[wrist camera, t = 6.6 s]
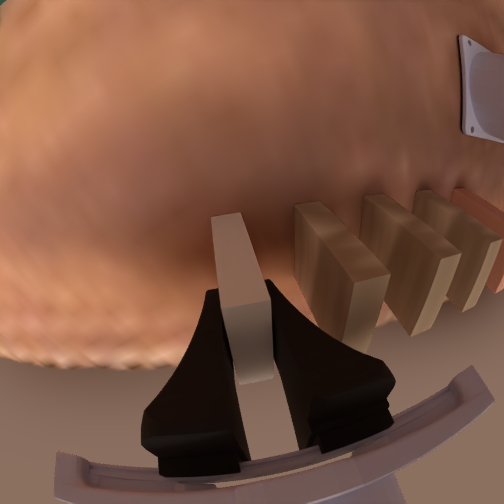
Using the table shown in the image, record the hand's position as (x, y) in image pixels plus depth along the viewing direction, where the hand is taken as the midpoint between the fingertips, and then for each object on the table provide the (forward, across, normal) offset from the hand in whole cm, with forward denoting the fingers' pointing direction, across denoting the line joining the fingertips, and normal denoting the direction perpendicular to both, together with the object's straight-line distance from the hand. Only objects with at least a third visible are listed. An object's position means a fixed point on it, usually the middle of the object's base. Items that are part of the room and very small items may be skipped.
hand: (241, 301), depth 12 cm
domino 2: (+4, -9, 0) cm, 10 cm away
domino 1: (+4, -5, 0) cm, 6 cm away
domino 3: (+4, -14, 0) cm, 14 cm away
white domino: (+4, 0, 0) cm, 4 cm away
